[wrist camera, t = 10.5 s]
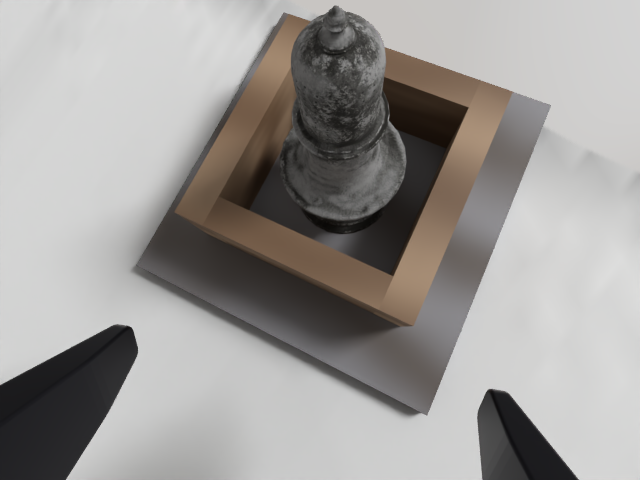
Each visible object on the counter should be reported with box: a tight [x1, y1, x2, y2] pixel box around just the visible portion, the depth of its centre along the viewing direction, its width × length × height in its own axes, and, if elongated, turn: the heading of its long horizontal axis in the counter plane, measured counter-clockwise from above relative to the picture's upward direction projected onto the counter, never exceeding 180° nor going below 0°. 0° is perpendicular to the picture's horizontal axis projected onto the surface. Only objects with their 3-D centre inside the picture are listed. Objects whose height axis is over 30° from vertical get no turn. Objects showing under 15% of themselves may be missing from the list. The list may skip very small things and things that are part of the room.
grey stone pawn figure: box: [280, 6, 407, 234], centre depth 15 cm, size 6×6×12 cm
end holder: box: [137, 13, 551, 415], centre depth 19 cm, size 18×17×5 cm
